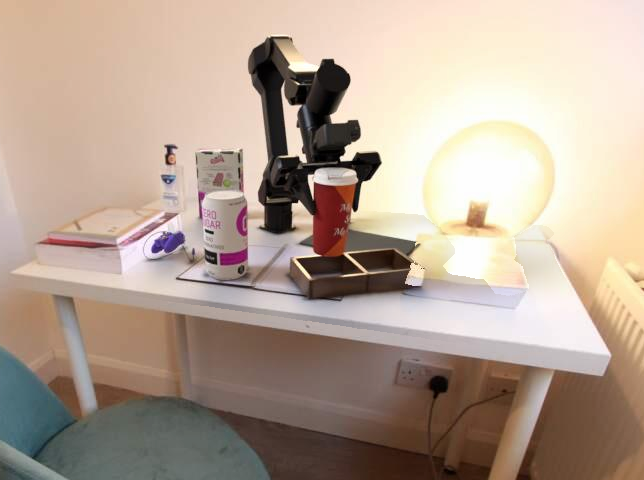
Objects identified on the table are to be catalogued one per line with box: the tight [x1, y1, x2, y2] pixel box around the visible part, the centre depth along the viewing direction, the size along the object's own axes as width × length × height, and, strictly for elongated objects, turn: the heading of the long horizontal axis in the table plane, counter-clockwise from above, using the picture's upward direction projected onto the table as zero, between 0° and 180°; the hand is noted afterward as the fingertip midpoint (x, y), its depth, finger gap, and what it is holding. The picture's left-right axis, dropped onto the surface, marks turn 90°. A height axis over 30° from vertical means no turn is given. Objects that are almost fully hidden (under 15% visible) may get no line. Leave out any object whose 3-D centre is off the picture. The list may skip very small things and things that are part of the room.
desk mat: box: [299, 229, 417, 256], centre depth 108 cm, size 22×14×1 cm, turn 55°
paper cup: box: [311, 168, 358, 257], centre depth 86 cm, size 8×8×14 cm
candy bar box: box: [195, 148, 245, 219], centre depth 124 cm, size 11×5×16 cm, turn 81°
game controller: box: [142, 230, 196, 263], centre depth 101 cm, size 10×8×10 cm
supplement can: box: [202, 190, 249, 281], centre depth 92 cm, size 8×8×15 cm
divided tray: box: [289, 248, 426, 300], centre depth 90 cm, size 11×21×4 cm, turn 102°
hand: (334, 212), depth 85 cm, fingers closed on paper cup, 7 cm apart
